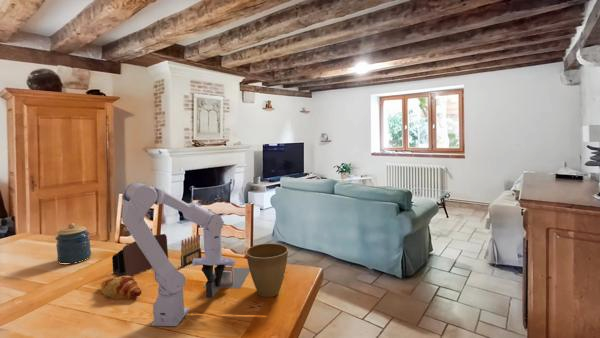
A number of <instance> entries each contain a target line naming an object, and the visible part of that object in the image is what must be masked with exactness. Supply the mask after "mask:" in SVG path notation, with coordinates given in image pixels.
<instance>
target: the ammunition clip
mask: <svg viewBox="0 0 600 338" xmlns="http://www.w3.org/2000/svg"><path fill="white" fill-rule="evenodd" d="M180 246H181V247H180V248H181V249H180V253H181V254H180V267H182V268H186V267H188V266H189V265H191V264H192V260H193V259H194V258H203V257H202V248H201V243H200V236H199V233H197V234H196V235H195V234H194V235H193V236H190V237H187V238H185V239H184V240H183V239H182V240H181V245H180ZM187 265H188V266H187ZM185 266H186V267H185Z"/></svg>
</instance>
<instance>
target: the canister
mask: <svg viewBox="0 0 600 338" xmlns="http://www.w3.org/2000/svg"><path fill="white" fill-rule="evenodd" d="M56 234H57V236H55V241H56V245H55V247H56V251H57V252H56V253H57V258H56V259H57V262H58V263H59V262H60V263H75V262H79V261H82V260H85V259H87V258H89V257H90V256H91V257H92V250H91V242H90V241H91V239H90V238H89V237H90V236H89V235H90V231H88V230H87V227H86V226H83V225H76V224H75V223H74V222H70V223H69V224H68V225H67V226H66V227H62V228H60V230H59V231H57V232H56ZM91 257H90V258H91ZM90 258H89V259H90ZM87 260H88V259H87ZM85 261H86V260H85ZM75 264H76V263H75Z"/></svg>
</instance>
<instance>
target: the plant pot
mask: <svg viewBox="0 0 600 338" xmlns="http://www.w3.org/2000/svg"><path fill="white" fill-rule="evenodd" d="M245 254H246V260H247V266H248V268H249V269H250V272H249V273H250V276H251V278H252V282H253V284H254V288H255V289H256V292H257V294H258V295H259V296H261V297H264V298H271V297H273V298H274V297H277V296H278V294H279V293H280V291H281V288H282V284H283V281H284V278H285V272H286V269H287V267H286V266H287V261H288V254H289V248H288V247H287V246H286V245H284V244H281V243H270V242H269V243H261V244H256V245H253V246H251V247H248V248H247V249H246V250H245Z"/></svg>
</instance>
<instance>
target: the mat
mask: <svg viewBox="0 0 600 338" xmlns="http://www.w3.org/2000/svg"><path fill="white" fill-rule="evenodd" d="M233 269H234V284H233V285H223V284H220V288H219V289H238V290H239V289H241V288H242V286H243V284H244V282H245V281H246V279H247V277H248V276H249V273H250V269H249V267H233ZM204 288H205V289H206V284H205V285H204V286H203V289H204Z"/></svg>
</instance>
